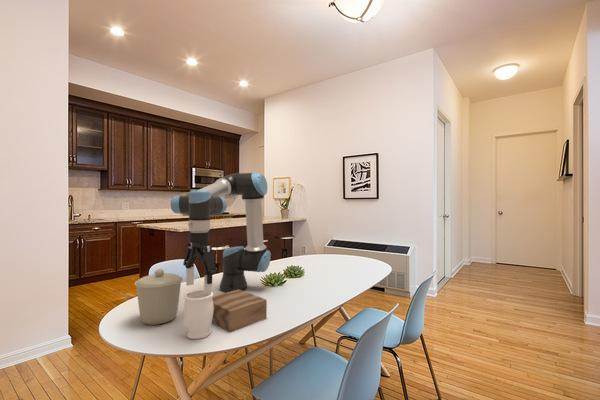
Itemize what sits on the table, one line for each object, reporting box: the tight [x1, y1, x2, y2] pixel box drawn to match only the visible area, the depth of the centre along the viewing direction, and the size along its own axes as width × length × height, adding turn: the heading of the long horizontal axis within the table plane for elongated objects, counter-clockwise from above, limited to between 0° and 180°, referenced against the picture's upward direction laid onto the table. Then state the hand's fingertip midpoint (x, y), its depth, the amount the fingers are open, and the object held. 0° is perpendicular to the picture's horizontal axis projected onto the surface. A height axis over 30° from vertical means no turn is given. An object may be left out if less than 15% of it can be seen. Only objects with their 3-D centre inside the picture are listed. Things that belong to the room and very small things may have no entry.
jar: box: [183, 289, 215, 340], centre depth 110 cm, size 11×10×15 cm
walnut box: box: [212, 290, 268, 333], centre depth 125 cm, size 20×18×8 cm
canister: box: [134, 268, 184, 326], centre depth 123 cm, size 18×18×21 cm
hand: (198, 288), depth 110 cm, fingers open, 13 cm apart
